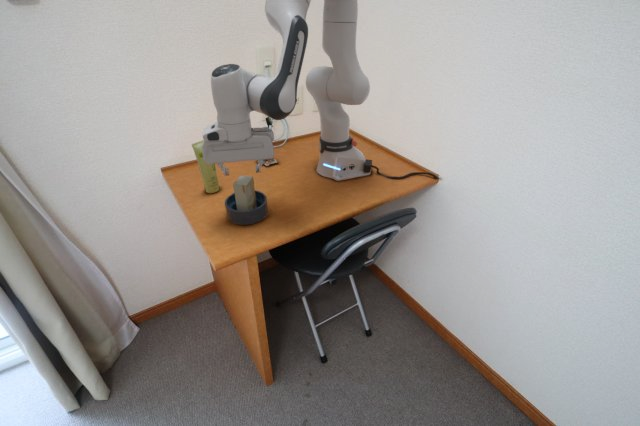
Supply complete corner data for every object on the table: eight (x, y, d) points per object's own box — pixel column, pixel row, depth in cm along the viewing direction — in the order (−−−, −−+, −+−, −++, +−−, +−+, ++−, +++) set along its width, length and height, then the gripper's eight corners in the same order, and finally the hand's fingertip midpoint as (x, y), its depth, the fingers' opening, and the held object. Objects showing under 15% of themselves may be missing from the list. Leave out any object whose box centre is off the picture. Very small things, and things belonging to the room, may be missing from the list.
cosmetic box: (250, 219, 101) (245, 185, 94) (237, 217, 101) (232, 184, 94) (257, 208, 106) (253, 176, 99) (245, 206, 107) (240, 174, 100)
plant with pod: (270, 155, 142) (266, 110, 131) (280, 164, 134) (276, 118, 123) (253, 158, 139) (247, 113, 128) (262, 168, 131) (257, 121, 119)
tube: (217, 194, 114) (207, 143, 103) (203, 194, 114) (191, 143, 103) (220, 186, 119) (211, 137, 107) (207, 186, 118) (196, 137, 107)
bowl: (267, 201, 110) (265, 188, 107) (269, 223, 100) (267, 209, 97) (228, 205, 108) (225, 191, 105) (226, 228, 98) (223, 213, 94)
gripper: (272, 122, 92) (276, 165, 100) (199, 127, 88) (209, 171, 96) (273, 130, 86) (277, 175, 95) (196, 136, 83) (207, 181, 91)
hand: (242, 173), depth 95 cm, fingers open, 8 cm apart
